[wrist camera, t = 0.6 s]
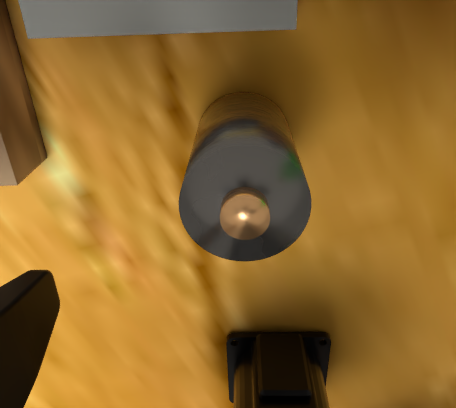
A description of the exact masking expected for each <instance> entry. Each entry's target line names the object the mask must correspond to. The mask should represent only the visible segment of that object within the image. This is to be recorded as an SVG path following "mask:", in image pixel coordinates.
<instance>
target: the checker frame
mask: <svg viewBox="0 0 456 408" xmlns="http://www.w3.org/2000/svg"><path fill="white" fill-rule="evenodd" d="M18 1H19V5H20V9H21V13H22V17H23V21H24V25H25V29H26V33H27V37H28V39H30V38H59V37H89V36H118V35H148V34H177V33H207V32H236V31H266V30H295V29H296V24H297V2H298V0H18Z"/></svg>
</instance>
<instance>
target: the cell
mask: <svg viewBox="0 0 456 408" xmlns="http://www.w3.org/2000/svg"><path fill="white" fill-rule="evenodd" d="M179 212H180V217H181V220H182V223H183V225H184V227H185V229H186V231H187V232H188V234H189V235H190V237H191V238H192V239H193V240H194V241H195V242H196V243H197V244H198V245H199V246H201V247H202V248H203V249H205V250H206V251H208V252H210V253H212V254H214V255H216V256H219V257H221V258H225V259H229V260H235V261H255V260H261V259H265V258H268V257H271V256H273V255H276V254H278V253H280V252H281V251H283V250H285V249H286V248H288V247H289V246H290V245H291V244H292V243H294V242H295V241H296V240H297V238H298V237H299V236H300V235H301V233H302V232H303V230H304V229H305V227H306V225H307V222H308V220H309V216H310V212H311V195H310V190H309V187H308V184H307V181H306V178H305V175H304V172H303V169H302V166H301V163H300V160H299V157H298V154H297V151H296V148H295V145H294V142H293V139H292V136H291V133H290V130H289V127H288V124H287V121H286V118H285V116H284V114H283V113H282V111H281V110H280V109H279V107H278V106H277V105H276V104H275V103H273V102H272V101H271V100H269V99H268V98H266V97H264V96H262V95H259V94H256V93H251V92H236V93H232V94H228V95H226V96H223V97H221V98H219V99H218V100H216V101H215V102H214V103H213V104H211V105H210V106H209V107H208V109H207V110H206V111H205V113H204V114H203V116H202V118H201V120H200V123H199V127H198V130H197V134H196V137H195V141H194V145H193V148H192V152H191V155H190V159H189V163H188V166H187V170H186V173H185V177H184V181H183V184H182V188H181V192H180V196H179Z"/></svg>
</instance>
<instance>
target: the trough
mask: <svg viewBox="0 0 456 408" xmlns="http://www.w3.org/2000/svg"><path fill="white" fill-rule="evenodd" d="M46 158H47V155H46V151H45V147H44V144H43V140H42V136H41V132H40V129H39V125H38V121H37V118H36V114H35V110H34V107H33V103H32V99H31V95H30V92H29V88H28V84H27V81H26V77H25V73H24V70H23V66H22V62H21V59H20V55H19V51H18V47H17V44H16V40H15V36H14V33H13V29H12V25H11V22H10V18H9V14H8V11H7V7H6V3H5V0H0V186H5V185H18V184H19V183H20V182H21V181H23V180H24V179H25V178H26V177H27V176H28V175H29V174H30V173H31V172H32V171H33V170H34V169H35V168H36V167H38V166H39V165H40V164H41V163H42V162H43V161H44V160H45V159H46Z"/></svg>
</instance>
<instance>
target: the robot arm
mask: <svg viewBox="0 0 456 408" xmlns="http://www.w3.org/2000/svg"><path fill="white" fill-rule="evenodd" d="M59 308H60V300H59V296H58V292H57V288H56V285H55V281H54V278H53V275H52V273H51V272H50V271H48V270H30V271H27V272H26V273H24V274H22V275H20V276H19V277H17V278H15V279H13V280H12V281H10V282H8V283H6V284H5V285H3V286H1V287H0V408H23V407H24V405H25V403H26V401H27V399H28V396H29V394H30V392H31V390H32V387H33V385H34V383H35V380H36V378H37V376H38V373H39V370H40V367H41V364H42V361H43V358H44V355H45V352H46V349H47V346H48V343H49V340H50V337H51V334H52V331H53V328H54V325H55V322H56V319H57V316H58V313H59ZM233 340H236V341H233ZM321 340H322V341H321ZM330 347H331V340H330V336H329V334H328V333H326V332H241V333H230V334H229V335H228V336H227V362H228V382H229V400H230V401H231V402H232V403H234V408H330V407H329V403H328V398H327V393H326V389H325V386H326V378H327V370H328V362H329V354H330Z"/></svg>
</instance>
